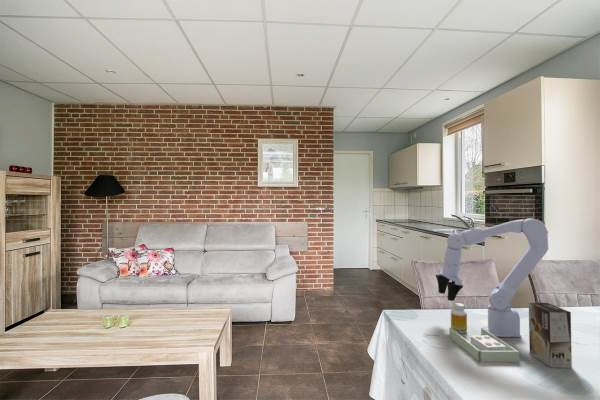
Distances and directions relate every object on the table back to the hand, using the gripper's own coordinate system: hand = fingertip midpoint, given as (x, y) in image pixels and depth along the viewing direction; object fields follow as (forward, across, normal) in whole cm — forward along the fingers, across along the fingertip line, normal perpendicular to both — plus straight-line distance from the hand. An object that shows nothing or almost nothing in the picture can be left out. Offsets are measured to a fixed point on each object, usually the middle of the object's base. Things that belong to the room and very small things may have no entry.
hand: (446, 296), depth 122 cm
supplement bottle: (+10, +8, +2) cm, 13 cm away
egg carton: (+8, +26, +2) cm, 27 cm away
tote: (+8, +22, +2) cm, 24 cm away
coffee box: (+6, +30, +18) cm, 36 cm away
